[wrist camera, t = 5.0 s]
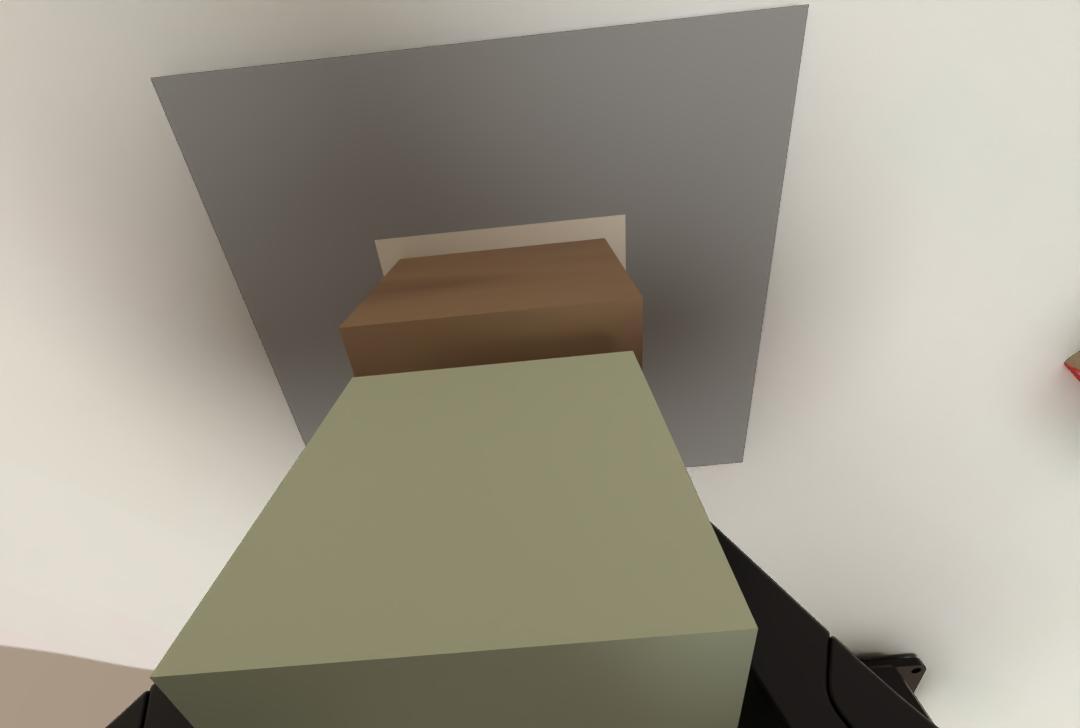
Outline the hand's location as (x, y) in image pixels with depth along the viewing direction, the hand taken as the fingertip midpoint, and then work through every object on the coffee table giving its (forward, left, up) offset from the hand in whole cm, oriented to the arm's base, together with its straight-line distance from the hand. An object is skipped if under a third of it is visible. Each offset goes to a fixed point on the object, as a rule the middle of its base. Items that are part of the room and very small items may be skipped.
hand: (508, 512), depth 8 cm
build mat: (+1, 0, -8) cm, 8 cm away
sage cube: (0, 0, -1) cm, 1 cm away
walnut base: (0, 0, -7) cm, 7 cm away
